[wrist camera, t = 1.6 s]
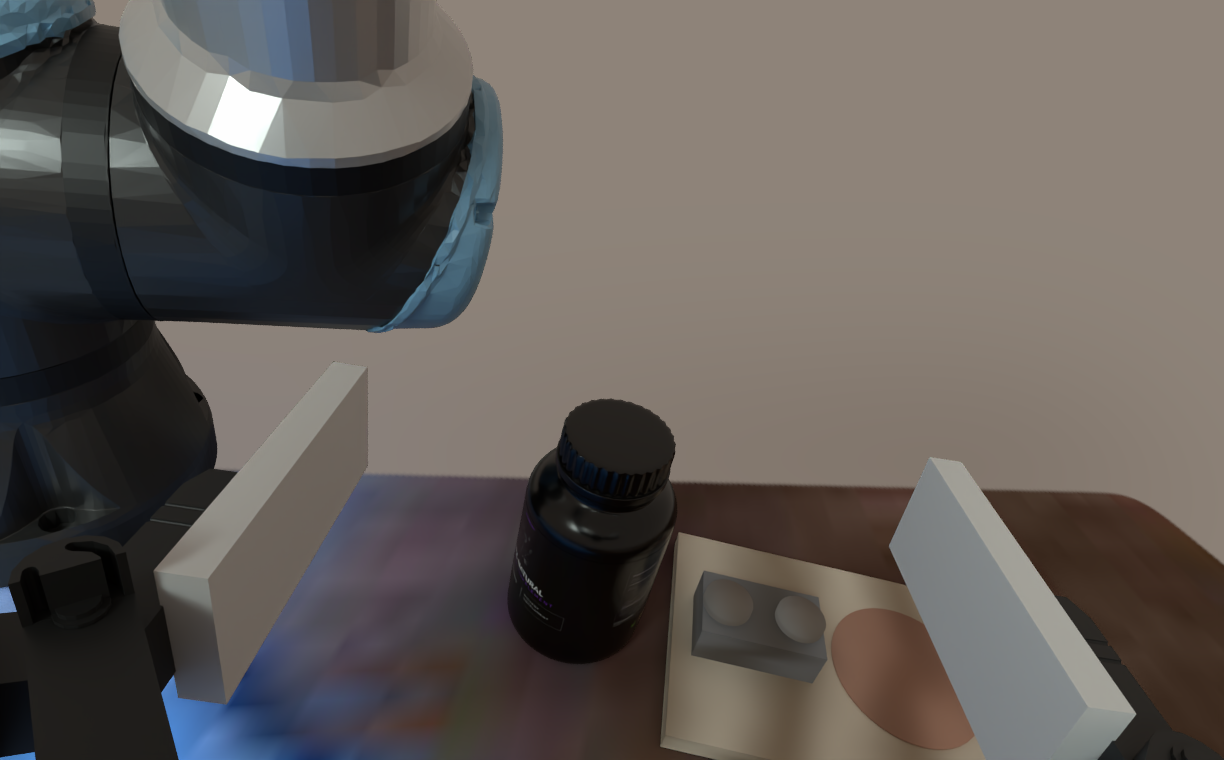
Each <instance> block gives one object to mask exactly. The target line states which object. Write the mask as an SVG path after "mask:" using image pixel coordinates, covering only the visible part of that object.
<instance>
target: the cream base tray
mask: <svg viewBox="0 0 1224 760" xmlns="http://www.w3.org/2000/svg"><path fill="white" fill-rule="evenodd" d="M660 747H663V748H668V749H672V750H676V751H681V752H685V753H689V754H694V755H698V756H702V757H706V758H711V759H715V760H986V759H985V757H984V755H983V752H982V750H981V748H980V746H979V744H978V741H977V739H976V737H975V735H974V733H973V730H972V728H971V726H970V724H969V722H968V719H967V717H966V715H965V713H964V710H963V708H962V706H961V704H960V702H959V699H958V697H957V695H956V693H955V691H954V688H953V686H952V684H951V682H950V680H949V677H948V675H947V673H946V671H945V669H944V666H943V664H942V662H941V660H940V658H939V655H938V653H937V651H936V649H935V647H934V644H933V642H932V640H931V638H930V636H929V633H928V631H927V629H926V627H925V625H924V622H923V620H922V618H921V616H920V614H919V611H918V609H917V607H916V605H915V603H914V600H913V598H912V596H911V594H910V592H909V589H908V587H907V585H903V584H898V583H894V582H890V581H886V580H881V579H877V578H873V577H868V576H864V575H860V574H856V573H851V572H847V571H843V570H839V569H834V568H830V567H826V566H821V565H817V564H813V563H809V562H804V561H800V560H796V559H791V558H787V557H783V556H779V555H774V554H770V553H766V552H762V551H757V550H753V549H749V548H744V547H740V546H736V545H732V544H727V543H723V542H719V541H714V540H710V539H706V538H702V537H697V536H693V535H689V534H685V533H680V532H679V533H678V536H677V539H676V542H675V546H674V561H673V575H672V589H671V603H670V617H669V631H668V645H667V659H666V673H665V687H664V701H663V715H662V729H661V743H660Z"/></svg>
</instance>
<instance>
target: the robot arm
mask: <svg viewBox="0 0 1224 760" xmlns="http://www.w3.org/2000/svg"><path fill="white" fill-rule="evenodd" d="M95 12H96V11H95V5H94V2H93V0H0V587H8V586H9V589H10V592H11V595H12V598H13V601H14V604H15V607H16V610H17V612H11V613H1V614H0V757H5V756H12V755H18V754H25V753H31V752H35V757H36V760H179V759H178V756H177V752H176V748H175V744H174V740H173V736H172V733H171V729H170V725H169V721H168V717H167V714H166V710H165V706H164V702H163V698H162V695H161V692H162V691H163V689H164V688H165V686H166V685H167V683H168V682H169V680H170V679H171V678H172V676H173V675H174V678H175V683H176V688H177V693H178V698H184V699H191V700H198V701H205V702H213V703H220V704H227V703H228V701H229V699H230V698H231V696H232V694H233V693H234V691H235V689H236V688H237V686H238V684H239V683H240V681H241V679H242V677H243V676H244V674H245V672H246V671H247V669H248V667H249V666H250V664H251V662H252V661H253V659H254V657H255V655H256V654H257V652H258V650H259V649H260V647H261V645H262V644H263V642H264V640H265V639H266V637H267V635H268V634H269V632H270V630H271V628H272V627H273V625H274V623H275V622H276V620H277V618H278V617H279V615H280V613H281V612H282V610H283V608H284V606H285V605H286V603H287V601H288V600H289V598H290V596H291V595H292V593H293V591H294V590H295V588H296V586H297V585H298V583H299V581H300V579H301V578H302V576H303V574H304V573H305V571H306V569H307V568H308V566H309V564H310V563H311V561H312V559H313V557H314V556H315V554H316V552H317V551H318V549H319V547H320V546H321V544H322V542H323V541H324V539H325V537H326V536H327V534H328V532H329V530H330V529H331V527H332V525H333V524H334V522H335V520H336V519H337V517H338V515H339V514H340V512H341V510H342V508H343V507H344V505H345V503H346V502H347V500H348V498H349V497H350V495H351V493H352V492H353V490H354V488H355V487H356V485H357V483H358V481H359V480H360V478H361V476H362V475H363V473H364V471H365V470H366V468H367V466H368V396H367V395H368V390H367V389H368V385H367V383H368V382H367V377H368V375H367V374H368V373H367V372H368V370H367V367H365V366H359V365H353V364H346V363H339V362H332V364H331V365H330V366H329V367H328V368H327V369H326V371H325V372H324V373H323V374H322V375H321V377H320V378H319V379H318V380H317V381H316V382H315V383H314V385H313V386H312V387H311V388H310V389H309V391H308V392H307V393H306V394H305V395H304V396H303V397H302V399H301V400H300V401H299V402H298V403H297V404H296V406H295V407H294V408H293V409H292V410H291V412H290V413H289V414H288V415H287V416H286V417H285V418H284V420H283V421H282V422H281V423H280V424H279V425H278V427H277V428H276V429H275V430H274V431H273V432H272V433H271V435H270V436H269V437H268V438H267V439H266V440H265V442H264V443H263V444H262V445H261V447H259V449H258V450H257V451H256V452H255V453H254V455H253V456H252V457H251V458H250V459H249V460H248V461H247V463H246V464H245V465H244V466H243V467H242V468H241V470H240V471H239V472H238V473H237V472H231V471H224V470H217V469H214V466H215V462H216V458H217V442H216V436H215V430H214V424H213V418H212V413H211V410H210V407H209V405H208V402H207V400H206V398H205V396H204V395H203V393H202V392H201V390H200V389H199V388H198V386H197V385H196V384H195V382H193V380H192V379H191V378H189V377H188V376H187V375H186V374H185V372H184V370H183V367H182V365H181V363H180V362H179V360H178V358H177V356H176V355H175V353H174V352H173V350H172V349H171V347H170V346H169V344H168V343H167V341H166V340H165V338H164V337H163V335H162V334H161V333H160V331H159V330H158V328H157V327H156V324H155V321H188V322H210V323H231V324H253V325H272V326H292V327H313V328H333V329H356V330H366V331H368V332H374V333H381V332H386V331H390V330H392V329H395V328H396V329H398V328H435V327H440V326H443V325H445V324H448V323H450V322H451V321H453V320H454V319H456V318H457V317H458V316H459V315H460V314H461V313H462V312H463V311H464V310H465V309H466V307H467V306H468V304H469V303H470V301H471V299H472V297H473V295H474V293H475V291H476V289H477V287H478V284H479V282H480V279H481V276H482V273H483V270H484V266H485V263H486V260H487V256H488V252H489V248H490V244H491V238H492V233H493V217H492V212H493V211H494V209H495V206H496V203H497V200H498V195H499V189H500V182H501V172H502V154H503V131H502V120H501V110H500V104H499V100H498V97H497V95H496V93H495V91H494V89H493V88H492V87H491V85H490V84H488V83H487V82H485V81H484V80H482V79H479V78H476V77H475V76H474V75H473V64H472V57H471V54H470V51H469V48H468V45H467V43H466V41H465V39H464V37H463V35H462V33H461V31H460V30H459V28H458V27H457V26H456V24H455V23H454V21H453V20H452V19H451V18H450V16H449V15H448V14H447V13H446V12H445V11H444V10H443V9H442V8H441V7H440V6H439V5H438V4H437V0H129V2H128V4H127V5H126V8H125V10H124V13H123V15H122V17H121V22H120V27H114V26H108V25H104V24H99V23H97V22H96V21H95V20H94V19H93V16H94V15H95ZM889 548H890V550H891V552H892V554H893V556H894V559H895V561H896V563H897V565H898V567H899V570H900V572H901V574H902V576H903V578H904V581H905V583H906V585H907V587H908V589H909V592H910V594H911V596H912V598H913V600H914V603H915V605H916V607H917V609H918V611H919V614H920V616H921V618H922V620H923V622H924V625H925V627H926V629H927V631H928V633H929V636H930V638H931V640H932V642H933V644H934V647H935V649H936V651H937V653H938V655H939V658H940V660H941V662H942V664H943V666H944V669H945V671H946V673H947V675H948V677H949V680H950V682H951V684H952V686H953V688H954V691H955V693H956V695H957V697H958V699H959V702H960V704H961V706H962V708H963V710H964V713H965V715H966V717H967V719H968V722H969V724H970V726H971V728H972V730H973V733H974V735H975V737H976V739H977V741H978V744H979V746H980V748H981V750H982V752H983V755H984V757H985V759H986V760H1224V759H1223V758H1222V757H1221V756H1220V755H1219V754H1217V753H1216V752H1214V751H1213V750H1212V749H1210V748H1209V747H1207V746H1206V745H1205V744H1203V743H1202V742H1200V741H1198V740H1196V739H1194V738H1192V737H1189V736H1187V735H1185V734H1183V733H1179V732H1175V731H1172V729H1171V728H1170V726H1169V725H1168V724H1167V722H1166V721H1165V720H1164V718H1163V717H1162V715H1161V714H1160V713H1159V711H1158V710H1157V709H1156V707H1155V706H1154V704H1153V703H1152V702H1151V700H1150V699H1149V698H1148V696H1147V695H1146V693H1145V692H1144V691H1143V689H1142V688H1141V687H1140V685H1139V684H1138V682H1137V681H1136V680H1135V678H1134V677H1133V676H1132V674H1131V673H1130V672H1129V670H1128V669H1127V667H1126V666H1125V665H1122V664H1121V659H1120V658H1119V656H1118V655H1117V654H1116V652H1115V651H1114V650H1113V648H1112V647H1111V646H1108V645H1107V643H1108V641H1107V640H1106V639H1105V637H1104V636H1103V634H1102V633H1101V632H1100V630H1099V629H1098V628H1097V626H1096V625H1095V623H1094V622H1093V621H1092V619H1091V618H1090V617H1088V616H1087V615H1086V614H1085V613H1084V612H1083V611H1082V610H1080V609H1079V608H1078V607H1077V606H1076V605H1075V604H1074V603H1072V602H1071V601H1070V600H1069V599H1068V598H1067V597H1061V596H1055V595H1053V593H1052V592H1051V590H1050V589H1049V587H1048V586H1047V585H1046V583H1045V582H1044V580H1043V579H1042V577H1041V576H1040V575H1039V573H1038V572H1037V570H1036V569H1035V567H1034V566H1033V564H1032V563H1031V562H1030V560H1029V559H1028V557H1027V556H1026V554H1025V553H1024V552H1023V550H1022V549H1021V547H1020V546H1019V544H1018V543H1017V541H1016V540H1015V539H1014V537H1013V536H1012V534H1011V533H1010V531H1009V530H1008V528H1007V527H1006V526H1005V524H1004V523H1003V521H1002V520H1001V518H1000V517H999V516H998V514H997V513H996V511H995V510H994V508H993V507H992V505H991V504H990V503H989V501H988V500H987V498H986V497H985V495H984V494H983V492H982V491H981V490H980V488H979V487H978V485H977V484H976V482H975V481H974V480H973V478H972V477H971V475H970V474H969V472H968V471H967V470H966V468H965V467H964V465H963V464H962V462H958V461H951V460H945V459H939V458H933V457H930V458H929V460H928V462H927V464H926V466H925V468H924V471H923V473H922V475H921V477H920V479H919V482H918V484H917V486H916V488H915V490H914V492H913V495H912V497H911V499H910V501H909V503H908V505H907V508H906V510H905V512H904V514H903V516H902V519H901V521H900V523H899V525H898V527H897V529H896V532H895V534H894V536H893V538H892V540H891V543H890V545H889Z"/></svg>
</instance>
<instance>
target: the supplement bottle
mask: <svg viewBox="0 0 1224 760" xmlns="http://www.w3.org/2000/svg"><path fill="white" fill-rule="evenodd" d="M675 445H676V444H675V442H674V436H673V435H672V434H671V430H670V429H669V427H667V426H666V423H665V422H664V421H662V420H661V419H660V417H659V416H657V415H655V414H653V413H652V412H651V411H650V410H648V409H645V408H643V407H642V406H639V405H635V404H634V403H632V402H625V401H623V400H614V399H599V400H591V401H589V402H587V403H582V404H581V406H577V407H576V408H575V409H574V410H573V411H571V412H570V413H569V416H568V417H567V418H566V420H565V422H564V427H563V430H562V435H561V439H560V441H559V443H558V446H557V448H555V449H553V450H552V451H550V452H549V453H548V454H546V455H545V456H544V457H543V458H542V459H541V460H540V461H539V462H538V464H537V465H536V466H535V468H534V470H533V472H532V473H531V476H530V478H529V482H528V485H527V490H526V495H525V500H524V505H523V511H522V516H521V522H520V527H519V532H518V538H517V543H516V549H515V554H514V559H513V565H512V570H511V576H510V582H509V588H508V610H509V614H510V618H511V620H512V623H513V625H514V627H515V629H516V630H517V632H518V634H519V635H520V636H521V637H522V639H523V640H524V641H525V642H526V643H527V644H528V645H529V646H531V647H532V648H533V649H534V650H536V651H537V652H539V653H540V654H542V655H544V656H546V657H548V658H551V659H553V660H556V661H560V662H564V663H570V664H586V663H593V662H597V661H600V660H603V659H606V658H608V657H610V656H612V655H613V654H615V653H616V652H618V651H619V650H620V649H621V648H622V647H624V646H625V644H626V643H627V642H628V641H629V640H630V638H631V637H632V635H633V633H634V631H635V629H636V627H637V624H638V622H639V620H640V617H641V615H642V612H643V609H644V607H645V604H646V601H647V599H648V596H649V593H650V591H651V588H652V585H653V583H654V580H655V577H656V575H657V572H658V569H659V567H660V564H661V561H662V559H663V556H664V553H665V551H666V548H667V545H668V543H669V540H670V537H671V535H672V532H673V529H674V525H675V522H676V518H677V501H676V496H675V492H674V490H673V487H672V484H671V482H670V481H669V475H670V467H671V464H672V461H673V458H674V455H675Z"/></svg>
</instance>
